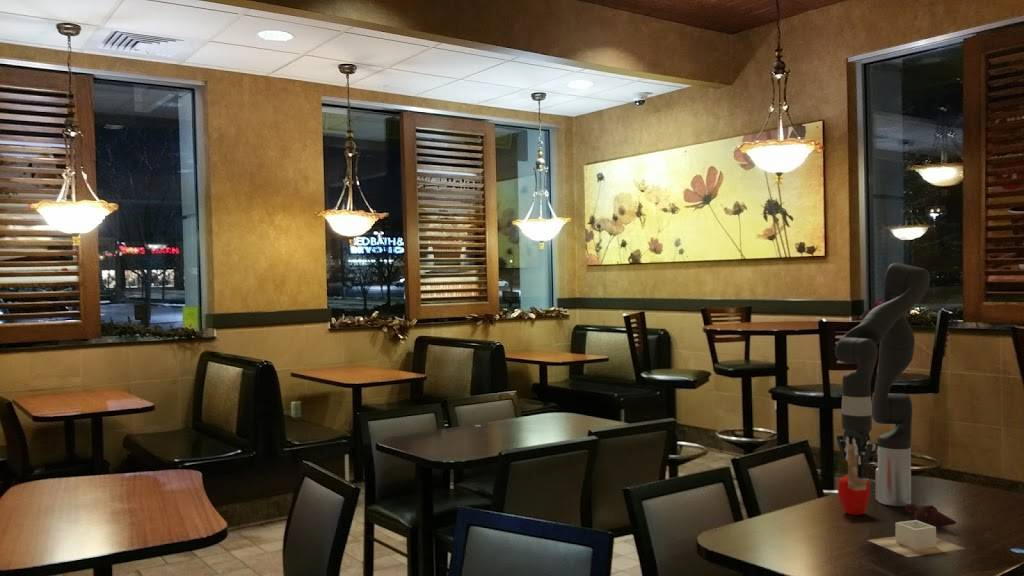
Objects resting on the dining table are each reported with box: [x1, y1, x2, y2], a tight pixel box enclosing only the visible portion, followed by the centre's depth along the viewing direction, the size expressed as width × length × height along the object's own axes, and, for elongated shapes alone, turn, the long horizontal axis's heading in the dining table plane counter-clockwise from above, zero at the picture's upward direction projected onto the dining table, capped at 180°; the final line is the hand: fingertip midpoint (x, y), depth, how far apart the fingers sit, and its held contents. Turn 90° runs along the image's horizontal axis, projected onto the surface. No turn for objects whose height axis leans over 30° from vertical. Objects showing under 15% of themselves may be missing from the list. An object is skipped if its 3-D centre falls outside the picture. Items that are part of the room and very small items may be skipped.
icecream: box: [903, 503, 957, 529], centre depth 230 cm, size 7×7×15 cm
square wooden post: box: [847, 444, 867, 491], centre depth 226 cm, size 3×3×12 cm
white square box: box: [894, 520, 937, 550], centre depth 215 cm, size 7×7×5 cm
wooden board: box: [867, 536, 966, 558], centre depth 215 cm, size 14×18×1 cm
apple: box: [837, 475, 871, 516], centre depth 246 cm, size 9×9×11 cm
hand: (856, 476), depth 226 cm, fingers closed on square wooden post, 3 cm apart
